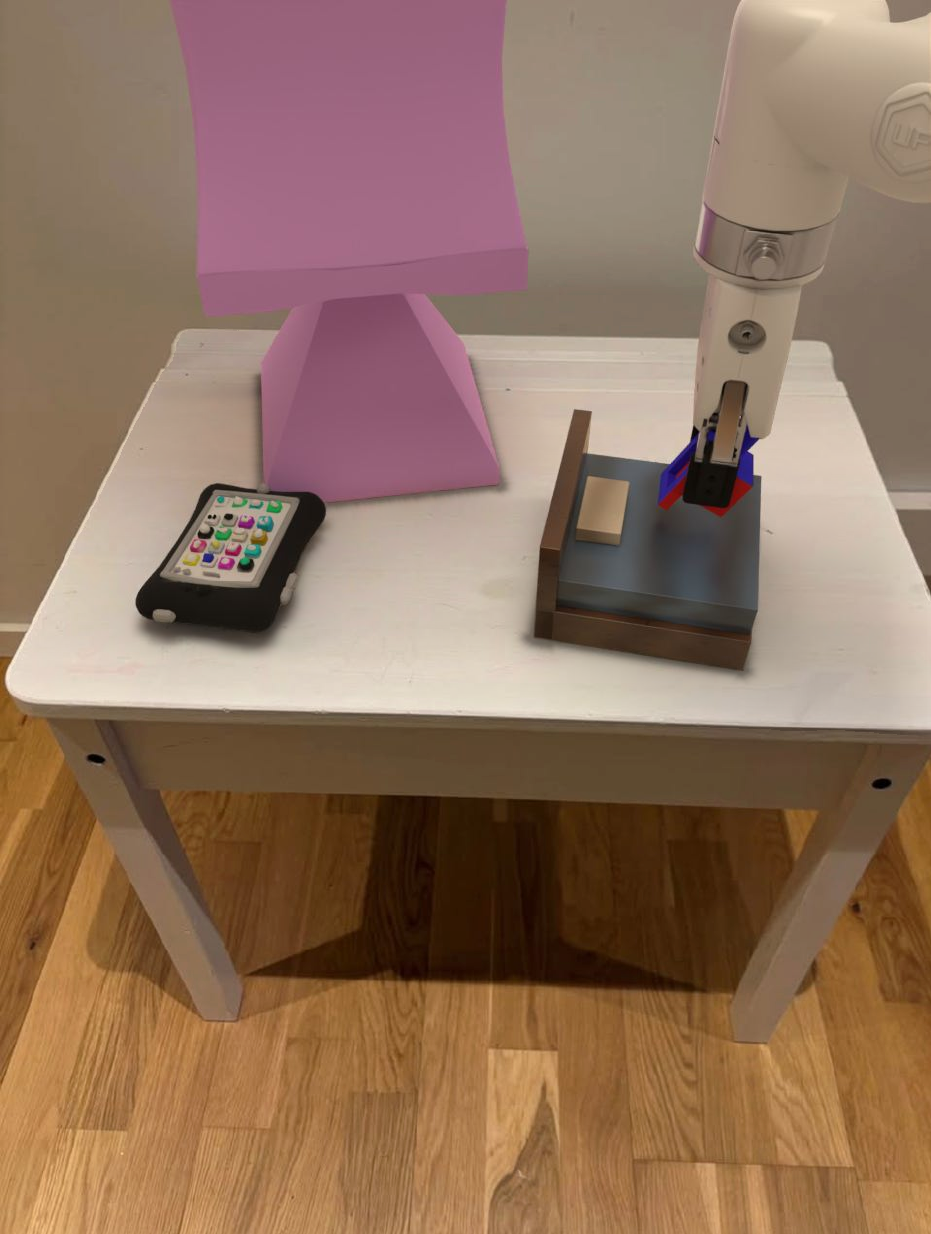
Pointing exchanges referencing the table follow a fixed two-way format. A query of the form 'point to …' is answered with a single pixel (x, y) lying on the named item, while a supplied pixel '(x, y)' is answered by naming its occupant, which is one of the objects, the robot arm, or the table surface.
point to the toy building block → (677, 470)
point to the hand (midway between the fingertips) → (707, 481)
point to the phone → (233, 559)
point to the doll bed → (608, 623)
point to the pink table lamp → (356, 225)
